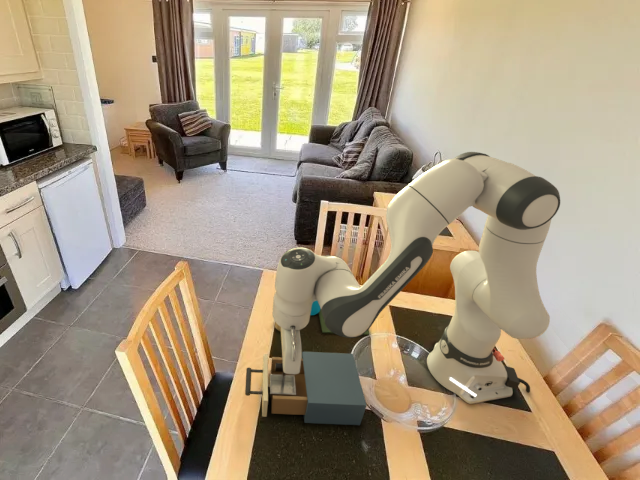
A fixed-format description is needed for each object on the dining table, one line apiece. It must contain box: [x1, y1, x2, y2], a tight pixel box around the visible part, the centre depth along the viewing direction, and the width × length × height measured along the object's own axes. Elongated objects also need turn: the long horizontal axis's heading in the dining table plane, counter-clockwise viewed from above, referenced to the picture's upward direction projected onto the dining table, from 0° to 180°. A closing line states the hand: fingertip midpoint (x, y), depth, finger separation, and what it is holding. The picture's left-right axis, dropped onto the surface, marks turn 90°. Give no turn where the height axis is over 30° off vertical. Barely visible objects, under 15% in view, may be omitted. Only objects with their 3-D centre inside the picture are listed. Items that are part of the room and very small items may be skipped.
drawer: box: [244, 353, 308, 418], centre depth 87 cm, size 18×13×7 cm
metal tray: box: [268, 363, 296, 401], centre depth 85 cm, size 7×5×11 cm
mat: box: [317, 309, 370, 336], centre depth 113 cm, size 16×12×1 cm
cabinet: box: [301, 351, 368, 426], centre depth 87 cm, size 15×14×9 cm
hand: (286, 349), depth 80 cm, fingers open, 8 cm apart
